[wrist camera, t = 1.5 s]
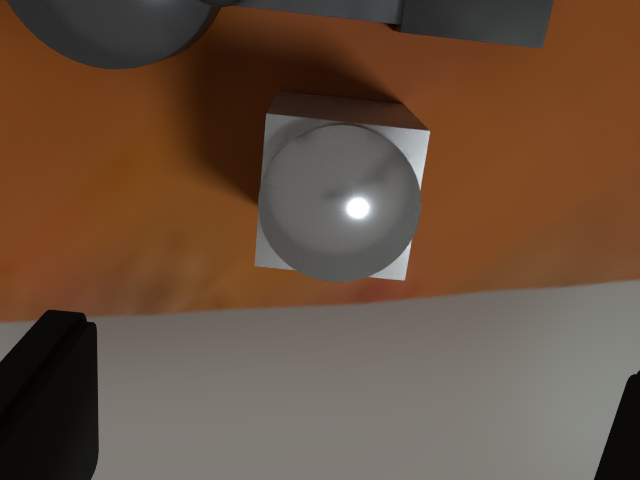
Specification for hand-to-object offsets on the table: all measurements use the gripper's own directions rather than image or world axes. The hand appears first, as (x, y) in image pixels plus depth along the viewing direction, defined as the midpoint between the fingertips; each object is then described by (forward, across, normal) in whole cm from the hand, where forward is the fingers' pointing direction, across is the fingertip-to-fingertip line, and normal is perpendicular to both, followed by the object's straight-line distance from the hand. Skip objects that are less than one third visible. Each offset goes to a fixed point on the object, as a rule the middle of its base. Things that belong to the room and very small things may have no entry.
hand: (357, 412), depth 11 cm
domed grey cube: (+20, 0, 0) cm, 20 cm away
